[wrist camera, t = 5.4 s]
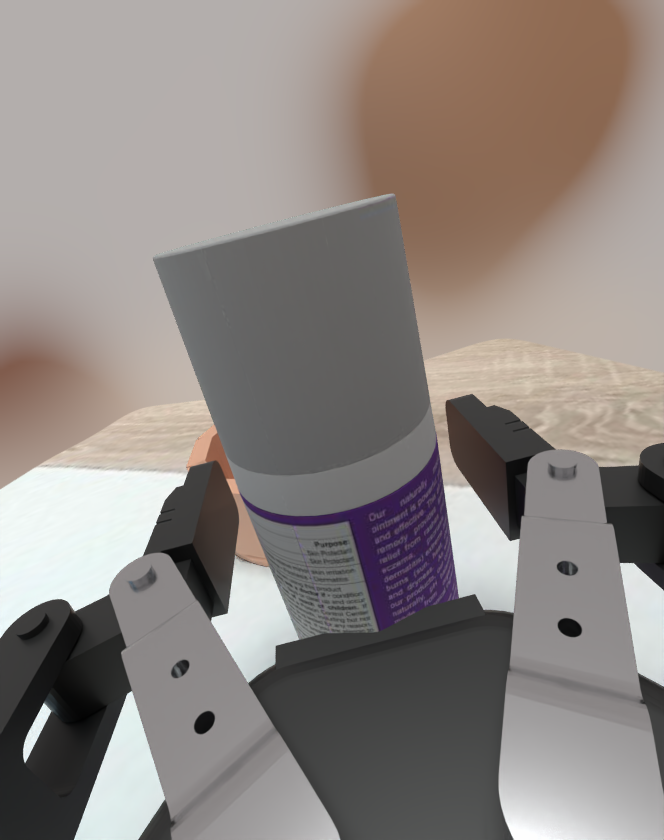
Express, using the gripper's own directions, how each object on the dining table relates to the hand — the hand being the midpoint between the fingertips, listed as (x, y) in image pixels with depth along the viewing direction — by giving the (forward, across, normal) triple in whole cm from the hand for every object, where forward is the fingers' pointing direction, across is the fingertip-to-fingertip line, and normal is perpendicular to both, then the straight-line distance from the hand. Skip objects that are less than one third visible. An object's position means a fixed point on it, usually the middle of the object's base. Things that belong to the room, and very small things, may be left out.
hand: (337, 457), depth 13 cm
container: (-2, 0, +9) cm, 9 cm away
